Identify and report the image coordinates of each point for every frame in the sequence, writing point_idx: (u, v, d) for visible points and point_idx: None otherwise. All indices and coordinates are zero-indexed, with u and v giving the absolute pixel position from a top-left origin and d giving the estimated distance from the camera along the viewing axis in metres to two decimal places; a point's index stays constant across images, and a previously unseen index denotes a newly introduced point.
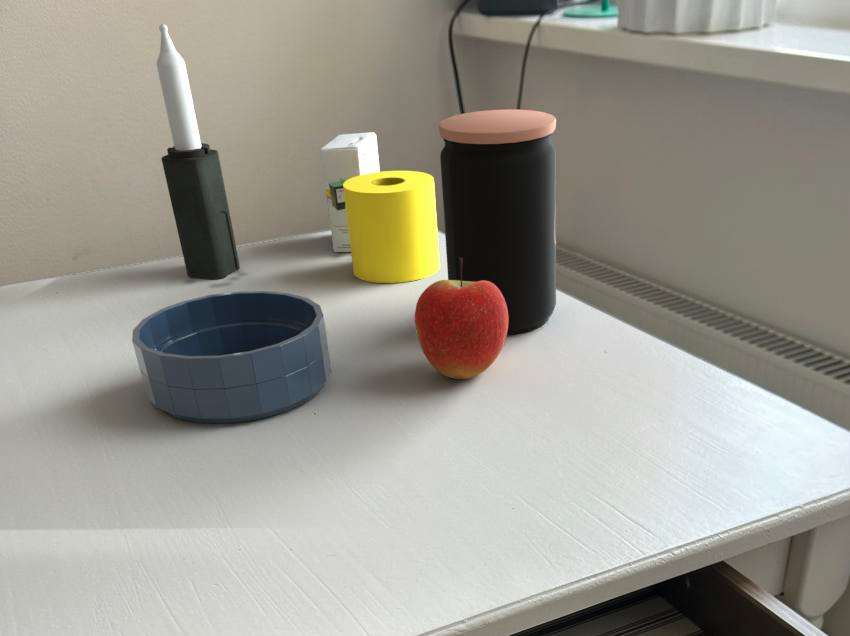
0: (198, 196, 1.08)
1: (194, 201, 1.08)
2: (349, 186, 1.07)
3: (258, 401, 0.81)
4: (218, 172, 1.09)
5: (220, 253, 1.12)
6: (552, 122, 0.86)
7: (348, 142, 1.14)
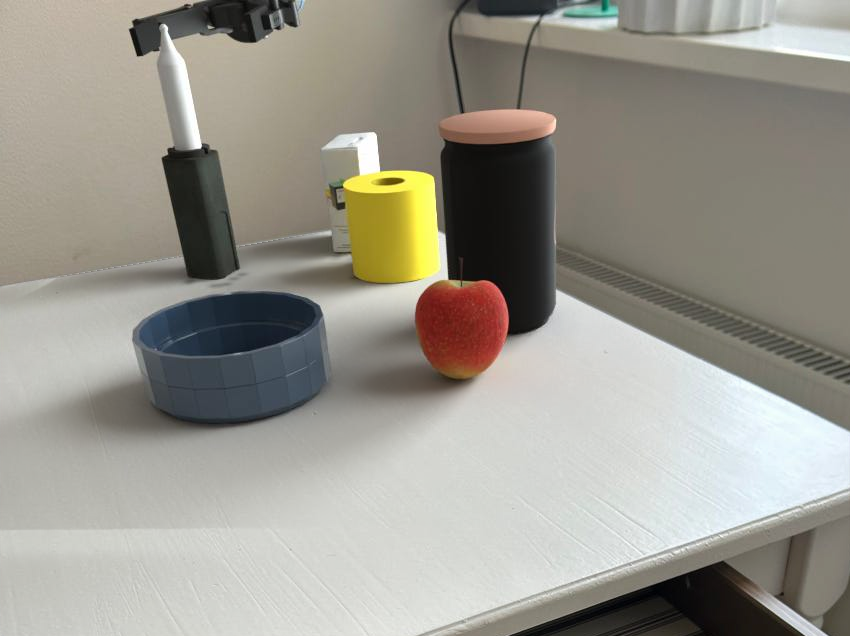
0: (198, 196, 1.08)
1: (194, 201, 1.08)
2: (349, 186, 1.07)
3: (258, 401, 0.81)
4: (218, 172, 1.09)
5: (220, 253, 1.12)
6: (552, 122, 0.86)
7: (348, 142, 1.14)
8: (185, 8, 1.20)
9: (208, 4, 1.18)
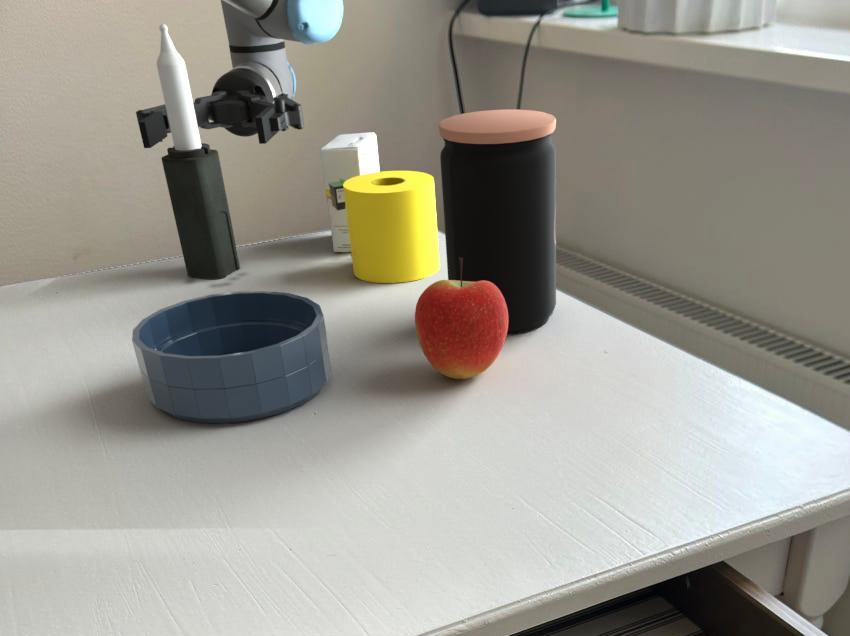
0: (198, 196, 1.08)
1: (194, 201, 1.08)
2: (349, 186, 1.07)
3: (258, 401, 0.81)
4: (218, 172, 1.09)
5: (220, 253, 1.12)
6: (552, 122, 0.86)
7: (348, 142, 1.14)
8: None
9: (210, 100, 1.21)
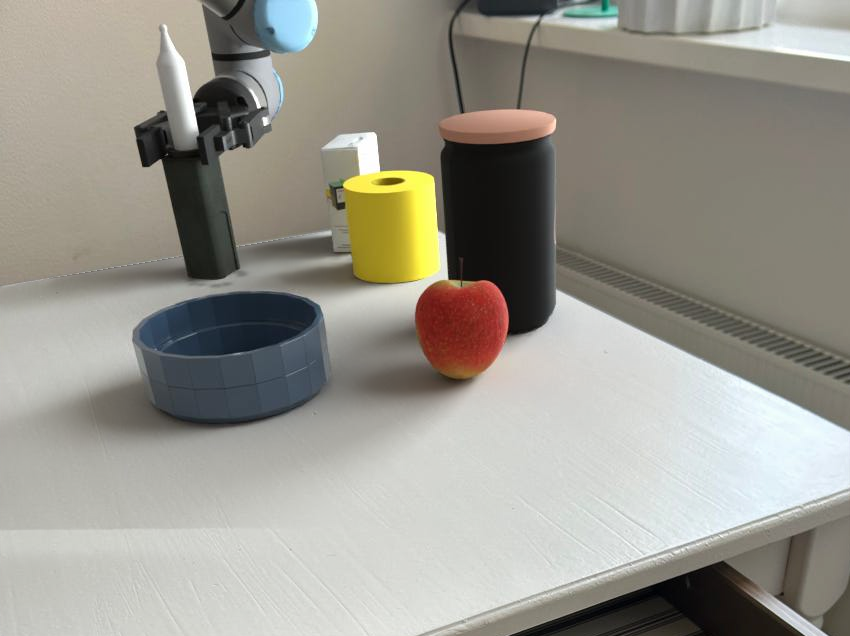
0: (198, 196, 1.08)
1: (194, 201, 1.08)
2: (349, 186, 1.07)
3: (258, 401, 0.81)
4: (218, 172, 1.09)
5: (220, 253, 1.12)
6: (552, 122, 0.86)
7: (348, 142, 1.14)
8: None
9: None
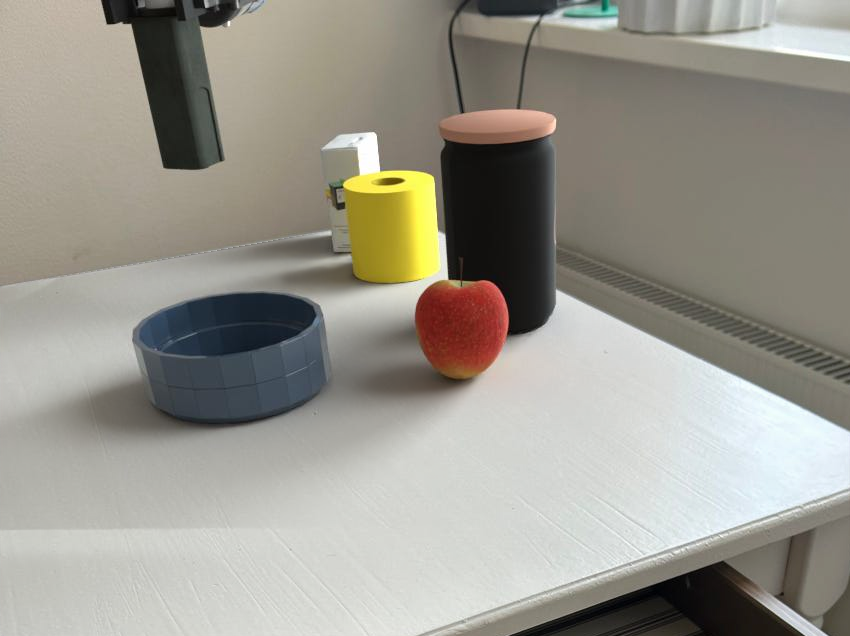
0: (174, 65, 0.91)
1: (169, 71, 0.91)
2: (349, 186, 1.07)
3: (258, 401, 0.81)
4: (198, 38, 0.92)
5: (201, 138, 0.95)
6: (552, 122, 0.86)
7: (348, 142, 1.14)
8: None
9: None
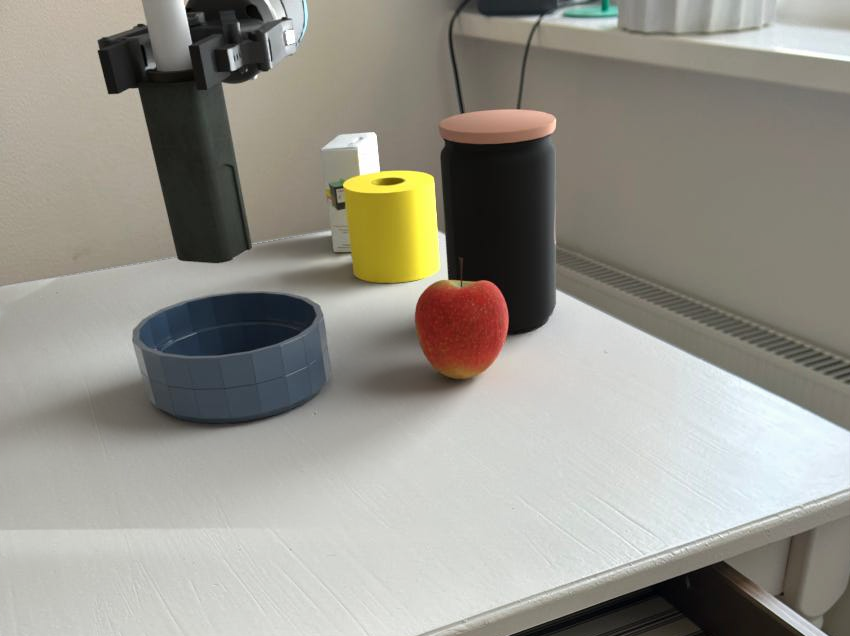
0: (191, 140, 0.73)
1: (185, 147, 0.74)
2: (349, 186, 1.07)
3: (258, 401, 0.81)
4: (221, 106, 0.75)
5: (224, 225, 0.78)
6: (552, 122, 0.86)
7: (348, 142, 1.14)
8: (147, 28, 0.80)
9: None
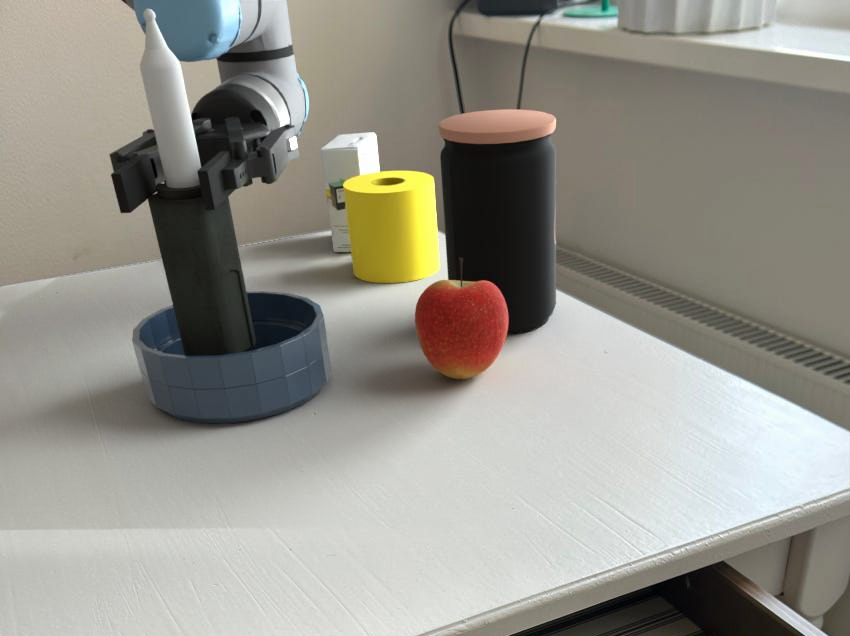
0: (199, 252, 0.77)
1: (193, 258, 0.77)
2: (349, 186, 1.07)
3: (258, 401, 0.81)
4: (227, 217, 0.78)
5: (230, 327, 0.81)
6: (552, 122, 0.86)
7: (348, 142, 1.14)
8: None
9: None
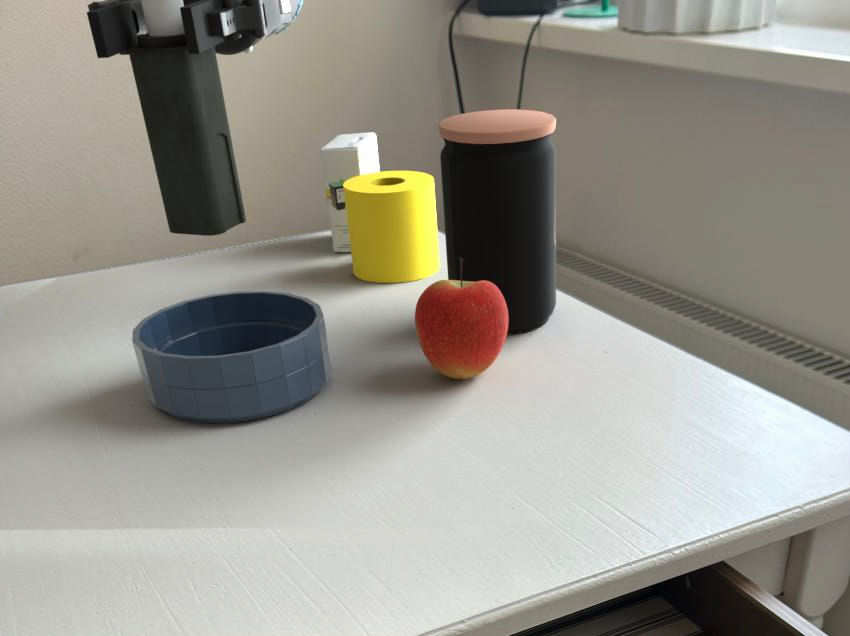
0: (183, 108, 0.72)
1: (177, 115, 0.72)
2: (349, 186, 1.07)
3: (258, 401, 0.81)
4: (214, 73, 0.73)
5: (217, 196, 0.76)
6: (552, 122, 0.86)
7: (348, 142, 1.14)
8: None
9: None
